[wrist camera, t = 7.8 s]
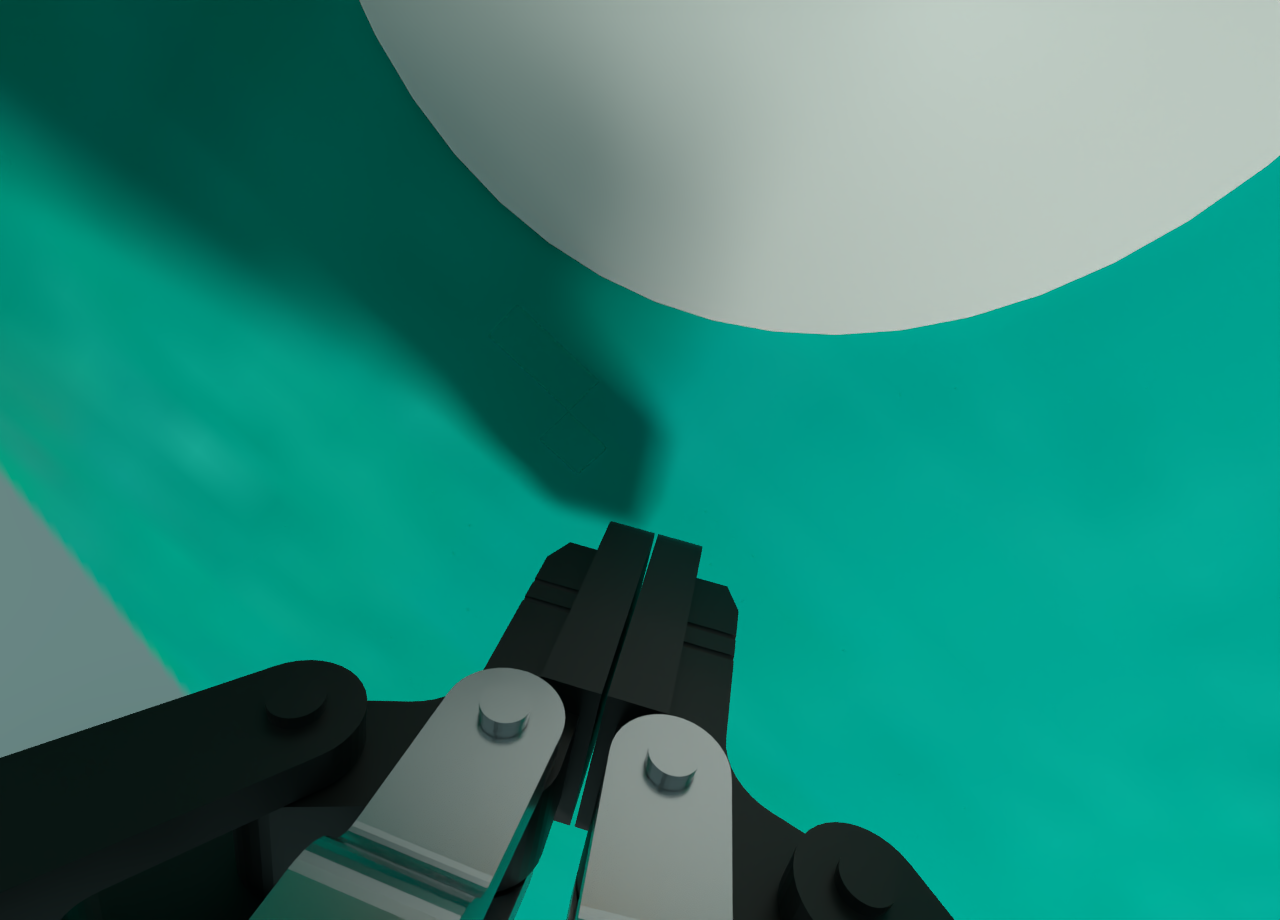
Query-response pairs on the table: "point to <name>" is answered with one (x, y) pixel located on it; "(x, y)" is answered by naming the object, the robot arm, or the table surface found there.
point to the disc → (846, 140)
